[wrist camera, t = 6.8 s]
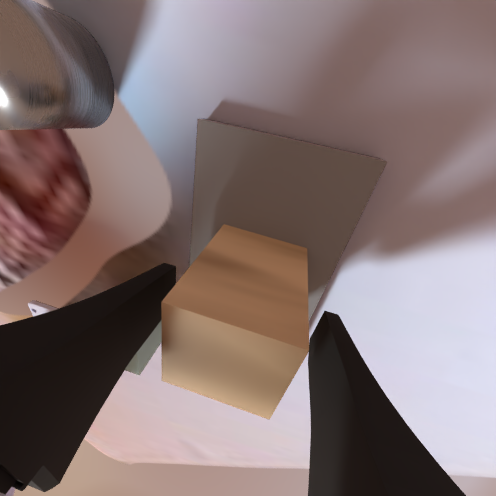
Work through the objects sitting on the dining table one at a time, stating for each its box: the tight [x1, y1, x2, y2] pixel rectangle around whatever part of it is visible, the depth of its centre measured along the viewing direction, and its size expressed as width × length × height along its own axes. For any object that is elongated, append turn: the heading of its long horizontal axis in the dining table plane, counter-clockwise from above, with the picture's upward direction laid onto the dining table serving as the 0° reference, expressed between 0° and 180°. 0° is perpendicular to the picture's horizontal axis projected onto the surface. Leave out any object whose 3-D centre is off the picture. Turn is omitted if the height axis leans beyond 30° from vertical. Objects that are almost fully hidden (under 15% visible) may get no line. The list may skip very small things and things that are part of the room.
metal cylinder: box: [0, 0, 114, 130], centre depth 9 cm, size 4×4×4 cm
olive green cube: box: [121, 283, 162, 375], centre depth 17 cm, size 4×4×4 cm
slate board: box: [189, 119, 387, 321], centre depth 13 cm, size 14×8×1 cm, turn 169°
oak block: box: [161, 224, 309, 419], centre depth 10 cm, size 4×4×6 cm
